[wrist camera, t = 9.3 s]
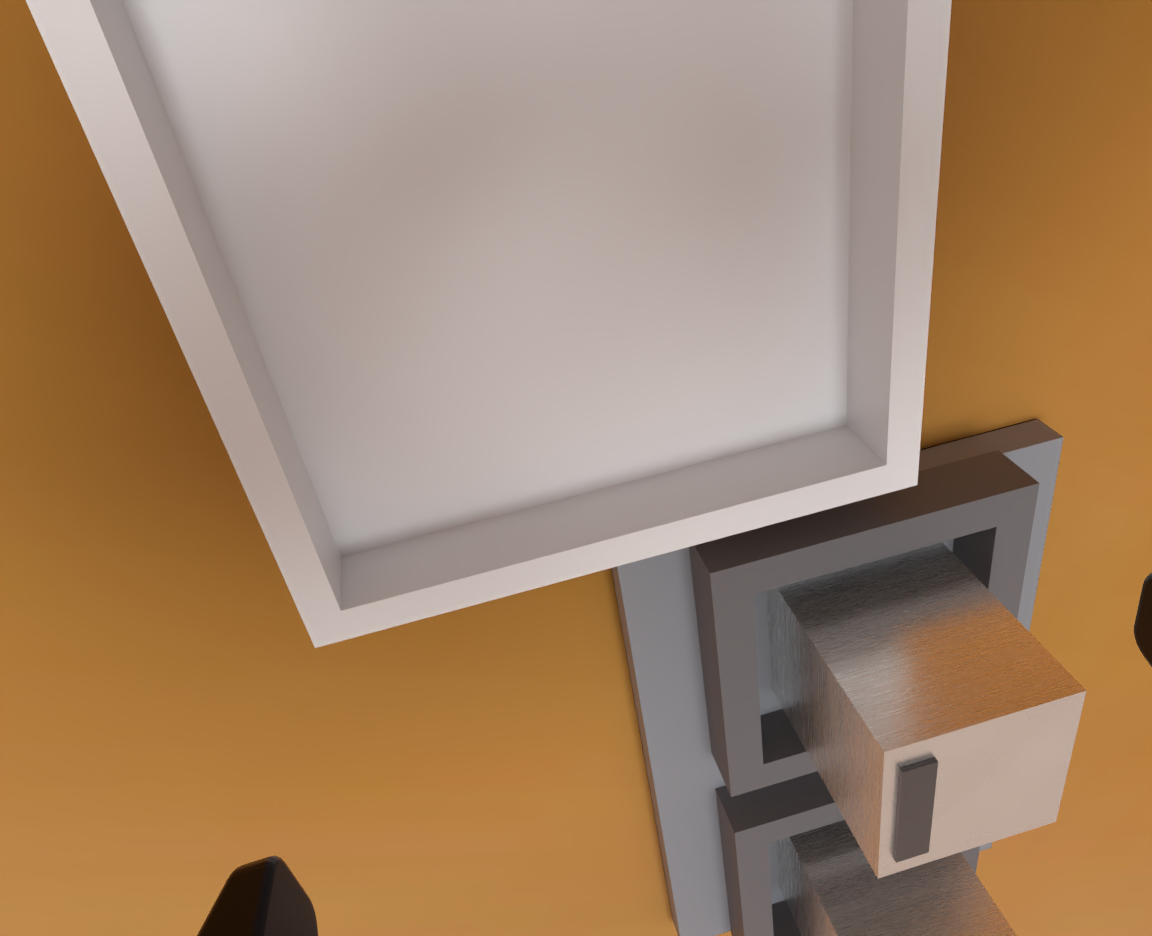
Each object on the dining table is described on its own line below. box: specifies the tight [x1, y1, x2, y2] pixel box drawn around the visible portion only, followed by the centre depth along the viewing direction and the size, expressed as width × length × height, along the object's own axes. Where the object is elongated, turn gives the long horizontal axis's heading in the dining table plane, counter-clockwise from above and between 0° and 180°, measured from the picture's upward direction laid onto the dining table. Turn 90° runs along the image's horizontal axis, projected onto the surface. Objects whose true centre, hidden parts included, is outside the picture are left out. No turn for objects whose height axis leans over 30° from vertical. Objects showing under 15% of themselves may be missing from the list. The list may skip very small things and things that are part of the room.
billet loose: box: [767, 542, 1086, 878], centre depth 22 cm, size 4×4×6 cm
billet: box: [777, 820, 1016, 936], centre depth 27 cm, size 4×4×6 cm
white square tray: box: [26, 0, 952, 648], centre depth 17 cm, size 14×14×2 cm
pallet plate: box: [612, 419, 1063, 936], centre depth 27 cm, size 12×18×3 cm, turn 9°
